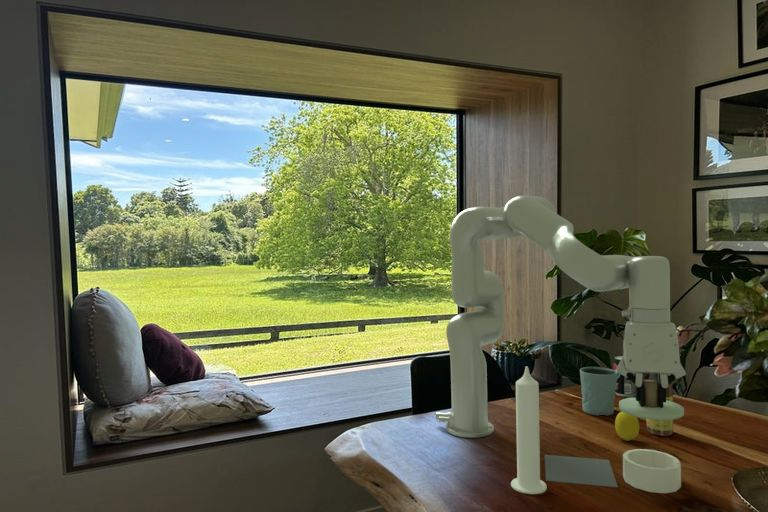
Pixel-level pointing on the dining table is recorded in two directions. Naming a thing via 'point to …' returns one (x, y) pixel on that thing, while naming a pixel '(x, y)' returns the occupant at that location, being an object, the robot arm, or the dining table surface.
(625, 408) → the lid
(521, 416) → the candle
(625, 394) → the beverage can
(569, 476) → the mat
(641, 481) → the bowl
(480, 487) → the dining table surface
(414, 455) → the dining table surface
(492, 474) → the dining table surface
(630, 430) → the lemon
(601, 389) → the blue-green cup
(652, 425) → the sauce bottle
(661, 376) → the robot arm
